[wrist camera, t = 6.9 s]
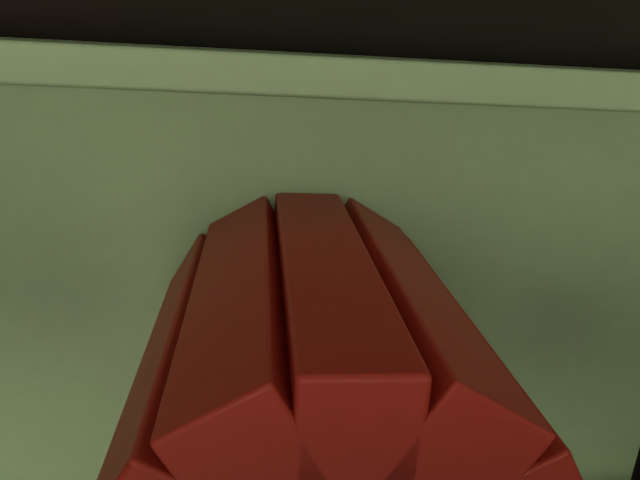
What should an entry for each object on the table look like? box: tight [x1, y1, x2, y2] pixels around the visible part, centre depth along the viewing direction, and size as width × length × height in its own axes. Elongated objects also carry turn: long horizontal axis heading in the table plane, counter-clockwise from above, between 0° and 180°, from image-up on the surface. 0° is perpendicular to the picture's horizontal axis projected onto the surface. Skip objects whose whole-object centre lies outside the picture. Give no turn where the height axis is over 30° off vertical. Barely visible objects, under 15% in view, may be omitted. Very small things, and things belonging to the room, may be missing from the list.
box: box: [0, 37, 640, 480], centre depth 15 cm, size 24×14×3 cm, turn 87°
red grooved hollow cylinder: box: [97, 193, 583, 480], centre depth 12 cm, size 7×7×8 cm
